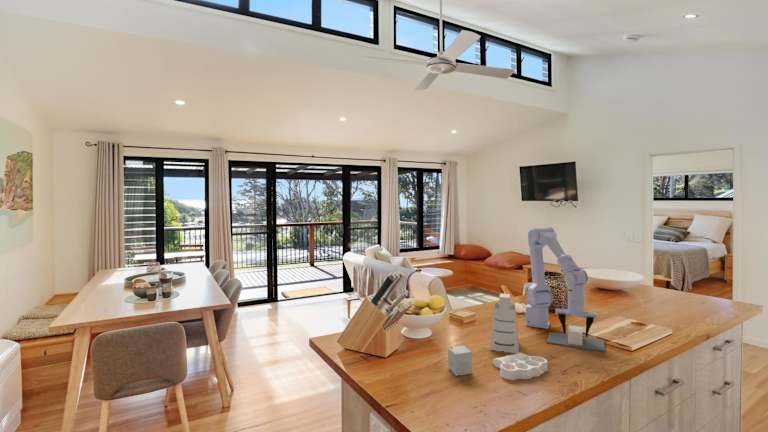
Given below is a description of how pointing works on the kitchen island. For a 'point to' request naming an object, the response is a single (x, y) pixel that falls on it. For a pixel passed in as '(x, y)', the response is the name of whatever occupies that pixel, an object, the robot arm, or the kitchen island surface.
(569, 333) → the block
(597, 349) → the mat
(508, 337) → the grater
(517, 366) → the white scalloped muffin tray
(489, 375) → the kitchen island surface
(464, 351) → the skincare box
